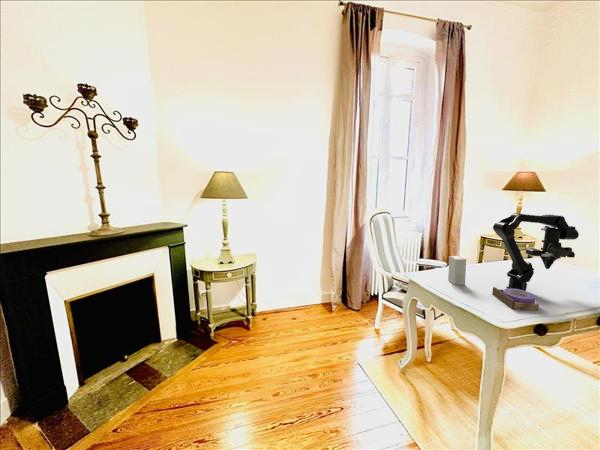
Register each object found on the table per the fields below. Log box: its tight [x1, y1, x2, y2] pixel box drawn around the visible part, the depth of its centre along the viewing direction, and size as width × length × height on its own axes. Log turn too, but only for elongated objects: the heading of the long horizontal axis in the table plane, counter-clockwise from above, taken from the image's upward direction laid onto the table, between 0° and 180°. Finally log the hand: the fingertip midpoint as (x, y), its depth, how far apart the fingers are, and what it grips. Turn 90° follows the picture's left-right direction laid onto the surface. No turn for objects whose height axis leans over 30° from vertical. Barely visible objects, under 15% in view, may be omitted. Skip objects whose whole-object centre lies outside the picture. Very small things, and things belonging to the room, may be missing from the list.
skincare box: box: [447, 255, 467, 286], centre depth 149 cm, size 8×6×15 cm
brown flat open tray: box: [491, 286, 540, 312], centre depth 124 cm, size 10×16×4 cm, turn 170°
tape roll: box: [502, 288, 536, 304], centre depth 124 cm, size 12×12×5 cm
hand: (547, 268), depth 136 cm, fingers closed
